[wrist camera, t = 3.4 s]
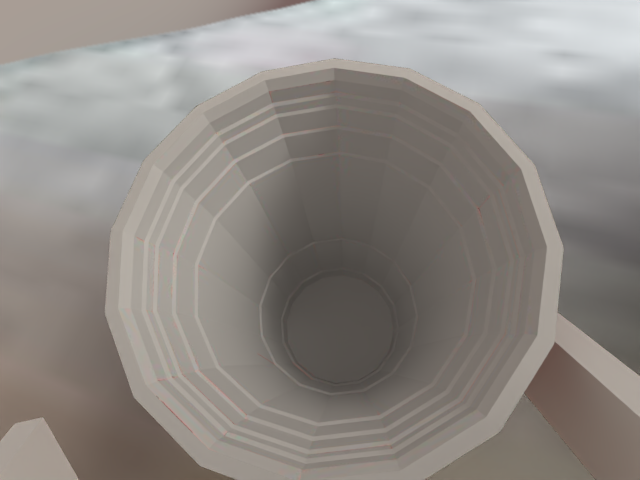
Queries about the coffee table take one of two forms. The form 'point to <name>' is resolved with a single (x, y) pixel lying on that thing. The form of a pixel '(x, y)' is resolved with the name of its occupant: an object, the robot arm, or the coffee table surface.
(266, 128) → the plastic cup
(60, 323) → the coffee table surface
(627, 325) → the coffee table surface
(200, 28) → the coffee table surface
